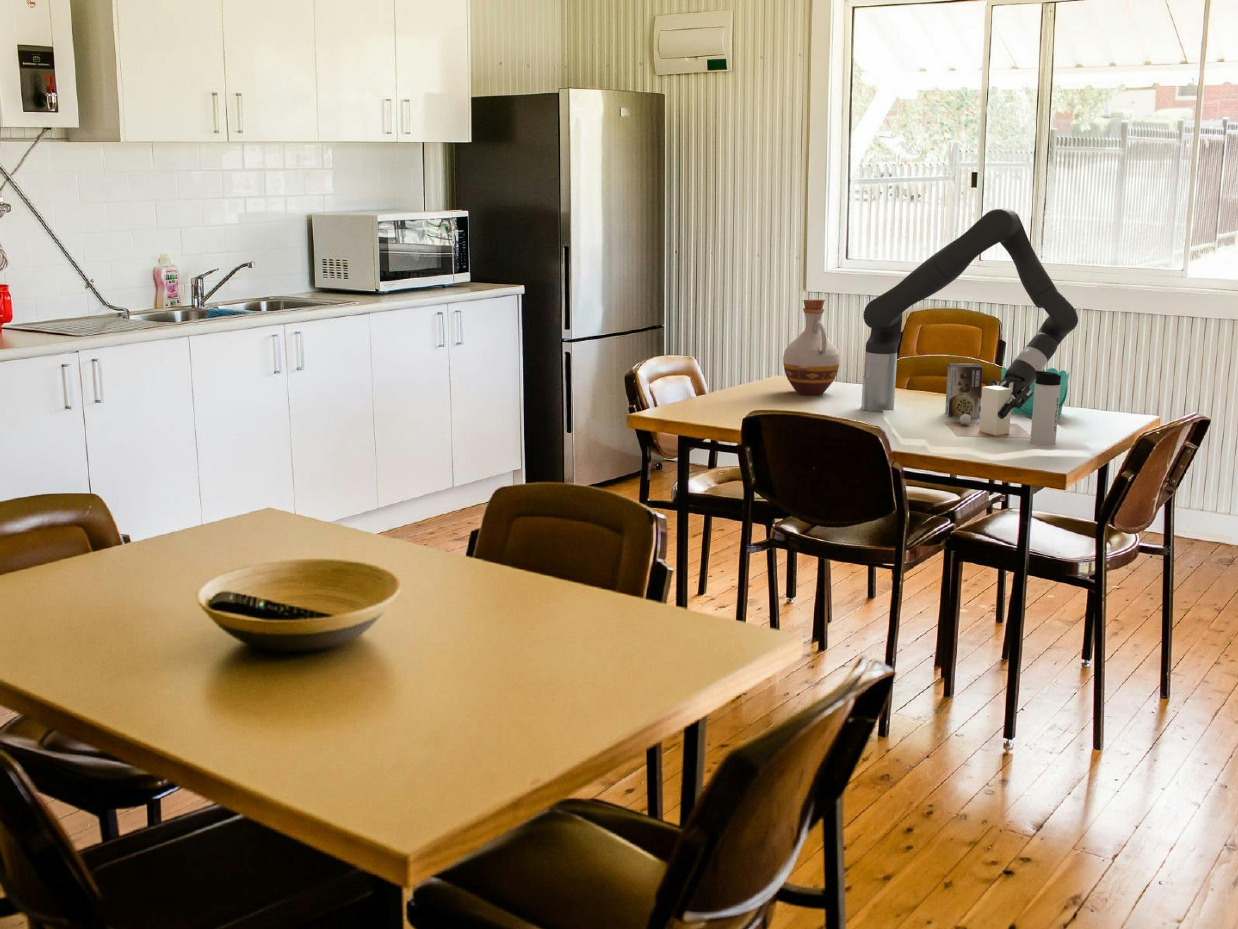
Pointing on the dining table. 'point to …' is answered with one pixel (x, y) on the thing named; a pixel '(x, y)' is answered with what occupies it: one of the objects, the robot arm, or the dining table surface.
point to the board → (973, 431)
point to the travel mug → (1045, 407)
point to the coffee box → (963, 389)
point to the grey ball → (965, 419)
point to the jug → (811, 355)
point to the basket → (1028, 405)
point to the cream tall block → (994, 410)
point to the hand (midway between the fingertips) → (990, 414)
